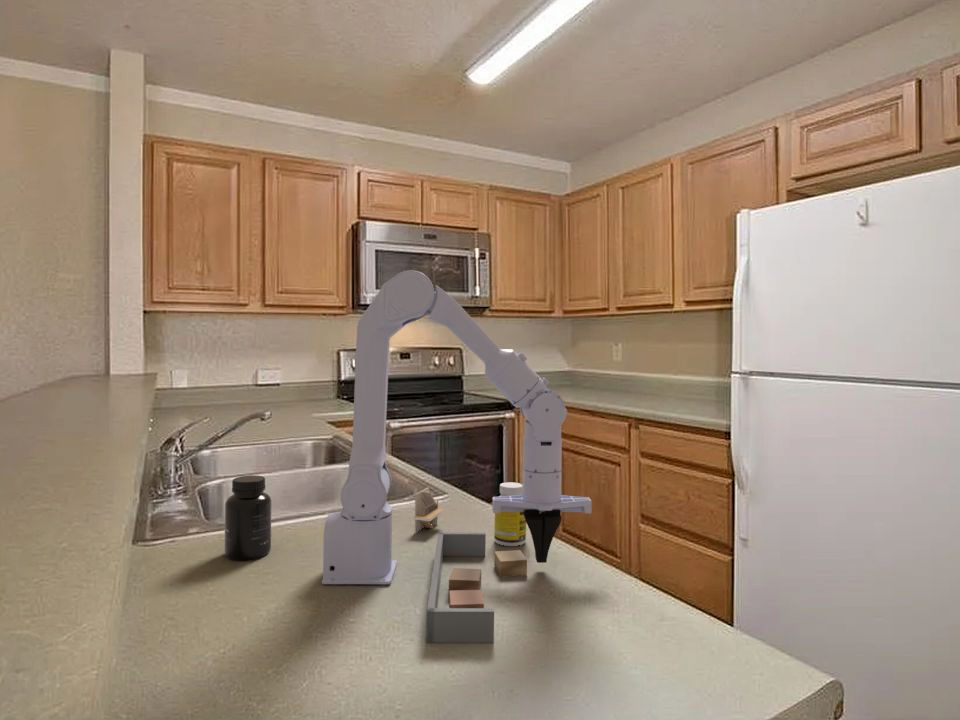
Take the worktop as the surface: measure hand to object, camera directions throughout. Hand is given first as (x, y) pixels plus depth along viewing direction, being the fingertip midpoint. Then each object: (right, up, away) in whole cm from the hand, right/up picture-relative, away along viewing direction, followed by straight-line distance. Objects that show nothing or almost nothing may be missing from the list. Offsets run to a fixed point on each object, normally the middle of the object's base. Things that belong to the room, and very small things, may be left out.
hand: (540, 560), depth 83 cm
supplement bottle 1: (-46, -1, +5) cm, 46 cm away
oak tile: (-5, -2, 0) cm, 5 cm away
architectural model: (-19, -2, +19) cm, 27 cm away
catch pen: (-11, -2, -7) cm, 14 cm away
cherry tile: (-11, -2, -14) cm, 18 cm away
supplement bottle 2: (-4, -2, +12) cm, 13 cm away
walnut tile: (-11, -2, -7) cm, 13 cm away
